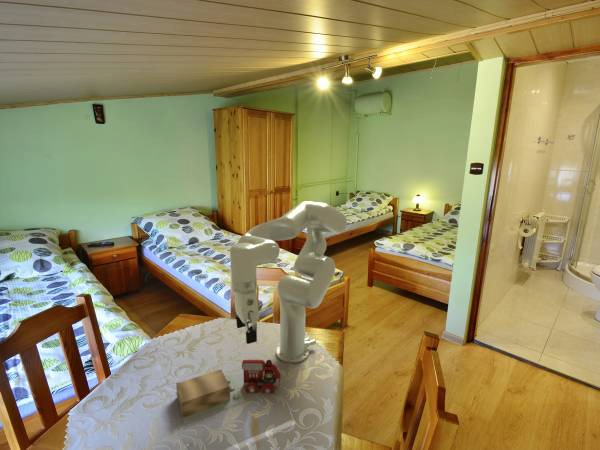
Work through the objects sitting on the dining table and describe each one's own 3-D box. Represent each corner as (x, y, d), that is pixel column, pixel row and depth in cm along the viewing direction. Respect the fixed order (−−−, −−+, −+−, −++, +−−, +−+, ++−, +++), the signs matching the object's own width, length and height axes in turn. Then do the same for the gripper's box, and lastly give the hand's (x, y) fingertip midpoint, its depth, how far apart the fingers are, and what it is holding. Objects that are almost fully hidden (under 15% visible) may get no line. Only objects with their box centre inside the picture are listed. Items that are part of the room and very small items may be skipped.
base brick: (221, 382, 107) (221, 369, 106) (230, 400, 99) (229, 386, 98) (177, 397, 100) (176, 383, 99) (182, 417, 92) (181, 402, 91)
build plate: (231, 377, 111) (231, 372, 111) (245, 404, 99) (245, 399, 99) (176, 395, 102) (175, 391, 102) (184, 427, 90) (184, 422, 90)
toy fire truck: (279, 396, 102) (279, 368, 100) (240, 396, 103) (239, 367, 100) (281, 381, 109) (281, 354, 107) (244, 381, 109) (243, 353, 107)
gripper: (266, 292, 92) (267, 345, 96) (247, 272, 107) (249, 318, 111) (241, 297, 88) (243, 352, 92) (224, 276, 103) (227, 324, 107)
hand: (246, 334), depth 101 cm, fingers open, 9 cm apart
